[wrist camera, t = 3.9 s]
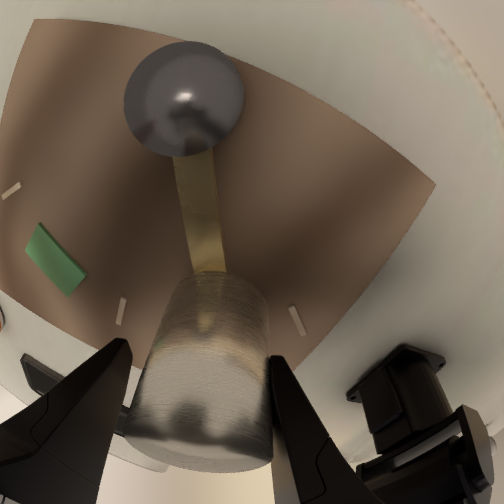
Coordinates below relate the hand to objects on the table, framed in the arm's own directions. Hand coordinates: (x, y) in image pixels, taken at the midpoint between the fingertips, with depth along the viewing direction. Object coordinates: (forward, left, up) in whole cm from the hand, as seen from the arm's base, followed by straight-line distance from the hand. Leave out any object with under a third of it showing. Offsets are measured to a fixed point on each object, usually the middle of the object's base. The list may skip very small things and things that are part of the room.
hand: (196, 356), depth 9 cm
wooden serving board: (+4, 0, -6) cm, 7 cm away
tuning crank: (+1, -3, -4) cm, 5 cm away
